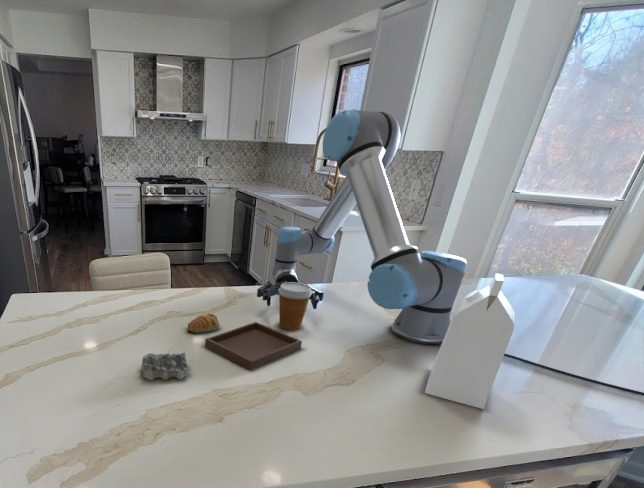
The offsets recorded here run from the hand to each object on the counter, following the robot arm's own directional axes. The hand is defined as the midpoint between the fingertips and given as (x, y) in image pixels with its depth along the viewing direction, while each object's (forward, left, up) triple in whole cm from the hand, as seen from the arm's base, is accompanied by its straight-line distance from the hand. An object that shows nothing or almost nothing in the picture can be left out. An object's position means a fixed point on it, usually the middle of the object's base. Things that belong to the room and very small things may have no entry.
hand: (292, 303), depth 126 cm
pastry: (+13, +23, -7) cm, 27 cm away
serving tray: (-5, +21, -7) cm, 23 cm away
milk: (-48, 0, -7) cm, 49 cm away
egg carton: (-1, +48, -7) cm, 49 cm away
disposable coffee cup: (-1, +1, -7) cm, 7 cm away
